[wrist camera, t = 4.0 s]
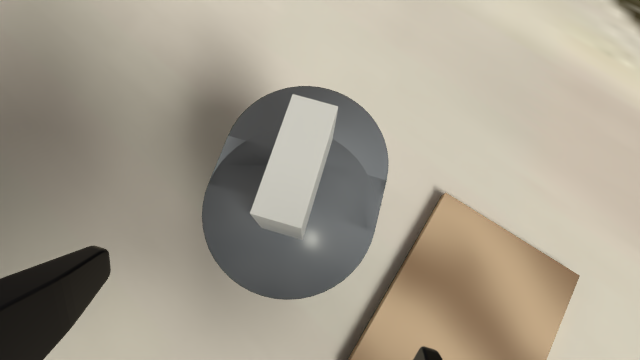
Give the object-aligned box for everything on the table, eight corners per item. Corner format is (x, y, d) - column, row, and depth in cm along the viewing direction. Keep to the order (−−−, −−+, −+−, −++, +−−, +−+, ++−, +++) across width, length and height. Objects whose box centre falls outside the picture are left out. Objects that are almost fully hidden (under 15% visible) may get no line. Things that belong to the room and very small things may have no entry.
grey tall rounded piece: (327, 301, 19) (366, 334, 7) (245, 277, 19) (136, 264, 7) (355, 196, 21) (424, 70, 9) (280, 175, 21) (244, 23, 9)
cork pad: (489, 478, 17) (496, 485, 16) (342, 369, 18) (343, 372, 17) (571, 276, 20) (579, 275, 19) (441, 195, 21) (445, 192, 21)
